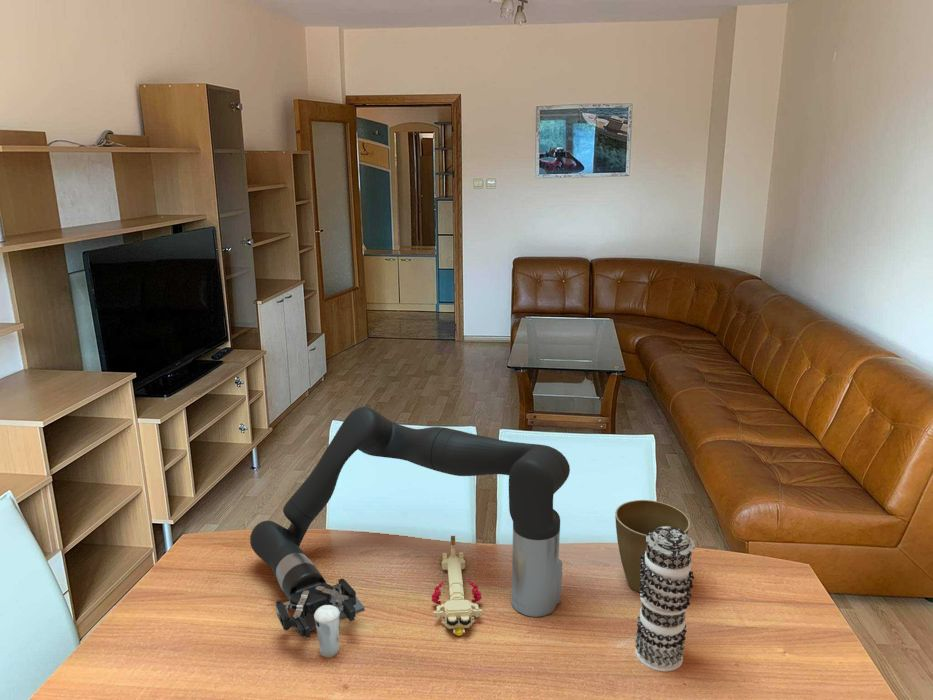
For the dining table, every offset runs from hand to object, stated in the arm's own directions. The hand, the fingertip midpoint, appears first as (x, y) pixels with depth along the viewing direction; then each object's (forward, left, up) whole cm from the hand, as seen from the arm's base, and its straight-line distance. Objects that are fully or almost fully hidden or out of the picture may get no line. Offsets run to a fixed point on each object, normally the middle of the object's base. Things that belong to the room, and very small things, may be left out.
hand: (330, 625), depth 123 cm
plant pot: (-64, +17, -6) cm, 66 cm away
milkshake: (0, 0, -6) cm, 6 cm away
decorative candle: (-50, +33, -6) cm, 60 cm away
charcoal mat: (-4, -12, -6) cm, 14 cm away
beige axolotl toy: (-27, -1, -6) cm, 28 cm away
